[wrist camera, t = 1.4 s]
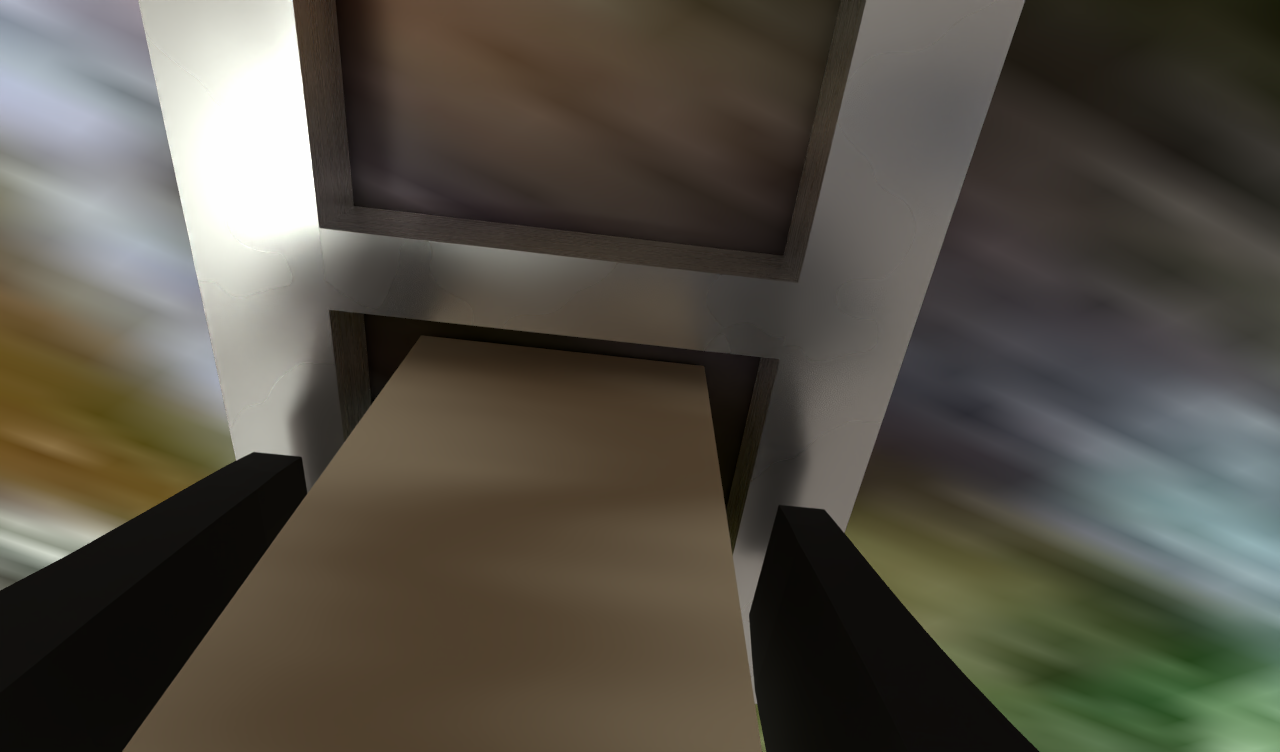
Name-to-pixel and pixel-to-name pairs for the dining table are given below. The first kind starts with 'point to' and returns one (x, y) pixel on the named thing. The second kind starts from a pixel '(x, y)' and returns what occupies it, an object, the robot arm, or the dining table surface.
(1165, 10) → the dining table surface
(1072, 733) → the dining table surface
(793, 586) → the robot arm
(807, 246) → the white rectangular slotted frame
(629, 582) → the block
